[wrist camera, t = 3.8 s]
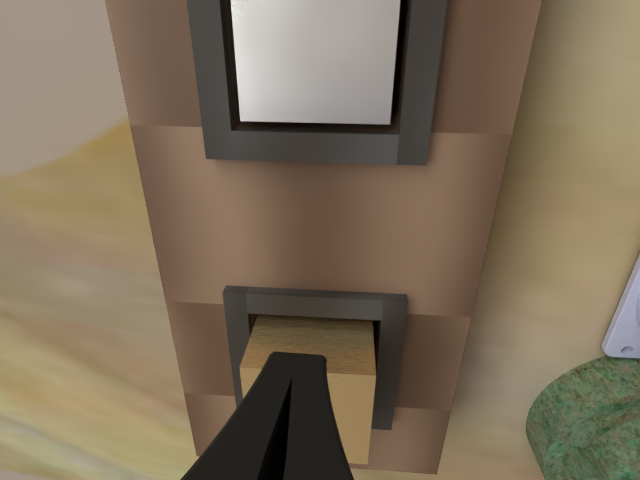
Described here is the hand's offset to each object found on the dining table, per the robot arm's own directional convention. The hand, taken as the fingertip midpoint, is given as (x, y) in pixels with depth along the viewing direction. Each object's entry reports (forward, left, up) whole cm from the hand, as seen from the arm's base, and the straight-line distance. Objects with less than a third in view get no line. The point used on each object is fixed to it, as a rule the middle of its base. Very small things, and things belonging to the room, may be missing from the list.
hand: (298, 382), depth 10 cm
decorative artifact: (-17, +11, -10) cm, 22 cm away
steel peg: (0, -8, -9) cm, 12 cm away
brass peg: (0, +4, -7) cm, 8 cm away
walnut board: (0, -2, -9) cm, 10 cm away
